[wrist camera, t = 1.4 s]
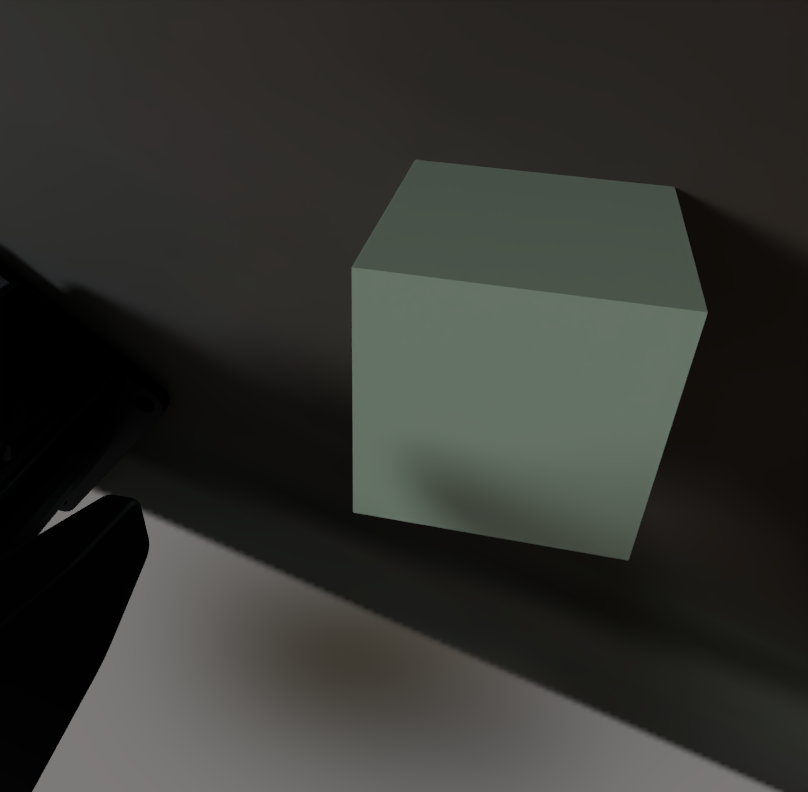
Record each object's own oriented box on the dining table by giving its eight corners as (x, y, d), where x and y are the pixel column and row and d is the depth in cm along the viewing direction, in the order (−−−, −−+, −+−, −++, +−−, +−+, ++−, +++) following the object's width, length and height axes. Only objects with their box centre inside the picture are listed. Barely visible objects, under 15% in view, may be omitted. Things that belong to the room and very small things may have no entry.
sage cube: (674, 185, 14) (708, 312, 10) (619, 397, 17) (628, 560, 13) (416, 158, 15) (351, 266, 11) (406, 366, 18) (353, 512, 14)
